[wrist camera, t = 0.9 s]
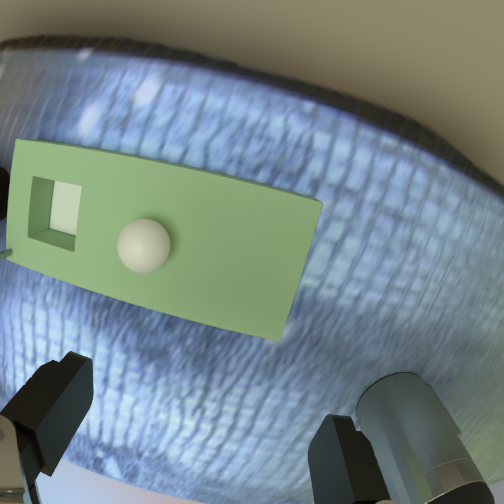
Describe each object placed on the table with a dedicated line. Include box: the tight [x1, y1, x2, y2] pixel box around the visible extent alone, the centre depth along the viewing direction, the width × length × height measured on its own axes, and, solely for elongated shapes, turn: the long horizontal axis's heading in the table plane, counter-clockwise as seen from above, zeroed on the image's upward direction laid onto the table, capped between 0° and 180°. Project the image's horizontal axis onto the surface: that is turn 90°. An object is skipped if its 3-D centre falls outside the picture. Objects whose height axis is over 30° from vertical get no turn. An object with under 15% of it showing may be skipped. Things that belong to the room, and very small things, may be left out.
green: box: [6, 139, 323, 341], centre depth 26 cm, size 28×12×4 cm, turn 76°
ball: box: [117, 218, 171, 273], centre depth 23 cm, size 4×4×4 cm
